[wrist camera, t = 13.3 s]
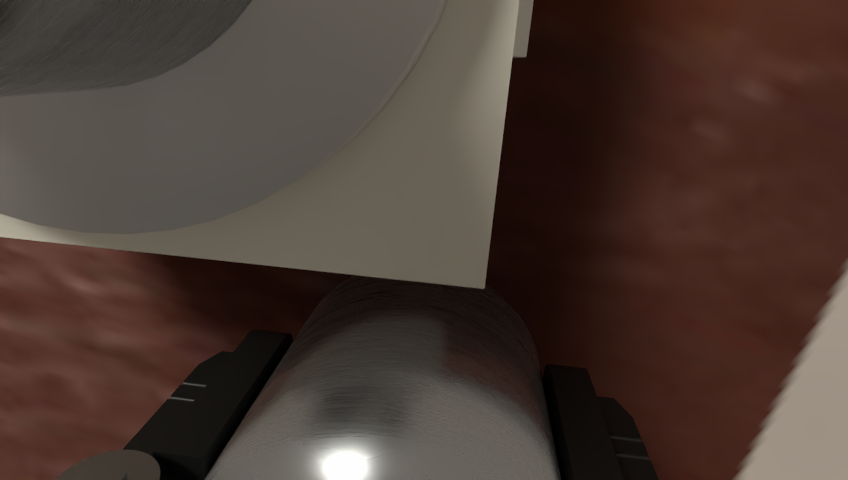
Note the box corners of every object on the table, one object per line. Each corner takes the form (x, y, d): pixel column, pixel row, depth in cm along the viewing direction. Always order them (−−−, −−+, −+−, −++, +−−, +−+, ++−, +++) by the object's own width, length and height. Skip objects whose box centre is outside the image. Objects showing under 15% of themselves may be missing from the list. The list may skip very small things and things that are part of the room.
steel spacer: (296, 250, 10) (147, 412, 6) (557, 276, 10) (624, 469, 5) (298, 458, 12) (184, 715, 7) (523, 487, 12) (551, 775, 7)
